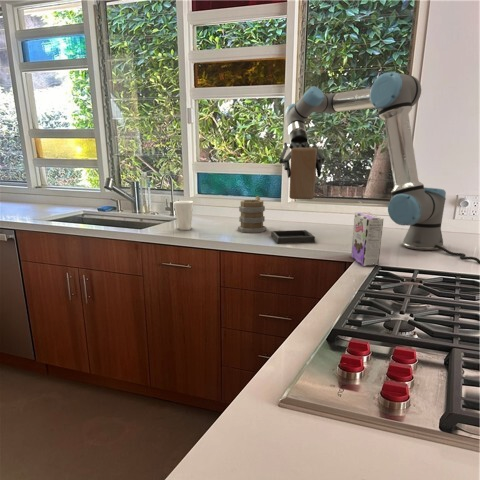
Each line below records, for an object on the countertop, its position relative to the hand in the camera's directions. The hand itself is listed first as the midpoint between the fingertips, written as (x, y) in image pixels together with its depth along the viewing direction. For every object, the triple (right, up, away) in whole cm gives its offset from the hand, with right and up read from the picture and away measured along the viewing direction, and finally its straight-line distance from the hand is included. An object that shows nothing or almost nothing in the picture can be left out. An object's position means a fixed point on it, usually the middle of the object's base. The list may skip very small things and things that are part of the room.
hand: (304, 175), depth 191 cm
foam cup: (-54, -14, +39) cm, 68 cm away
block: (0, -8, +6) cm, 10 cm away
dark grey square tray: (-4, -24, +13) cm, 28 cm away
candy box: (+18, -39, -25) cm, 50 cm away
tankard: (-20, -15, +37) cm, 45 cm away
